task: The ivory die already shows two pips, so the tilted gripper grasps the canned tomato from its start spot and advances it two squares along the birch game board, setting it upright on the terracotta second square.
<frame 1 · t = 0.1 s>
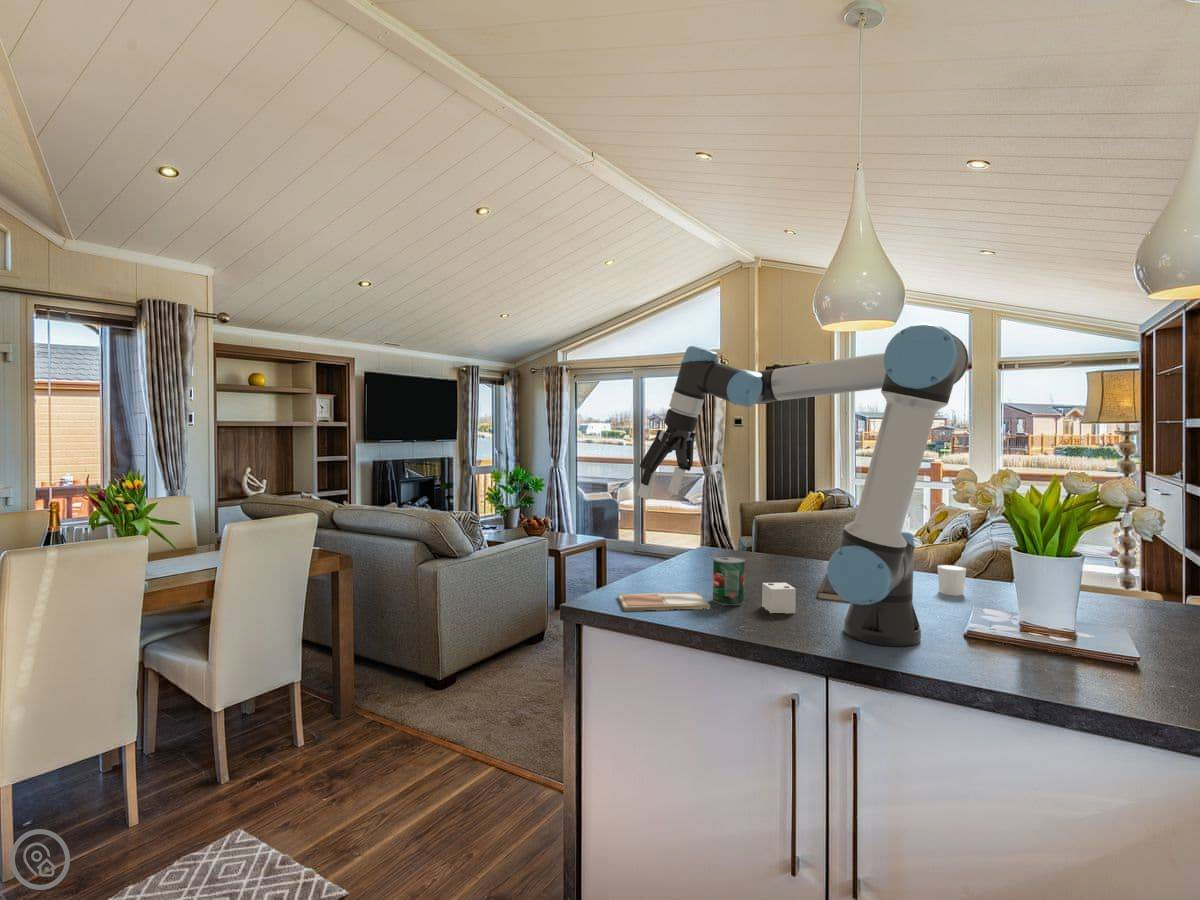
hand: (658, 495, 156), 28 cm above the countertop, tool tilted 20°, fingers open, 13 cm apart
hardcover book: (852, 593, 174), on the countertop
shot glass: (950, 593, 173), on the countertop
game board: (662, 603, 161), on the countertop
canned tomato: (728, 602, 163), on the countertop
die: (778, 610, 156), on the countertop
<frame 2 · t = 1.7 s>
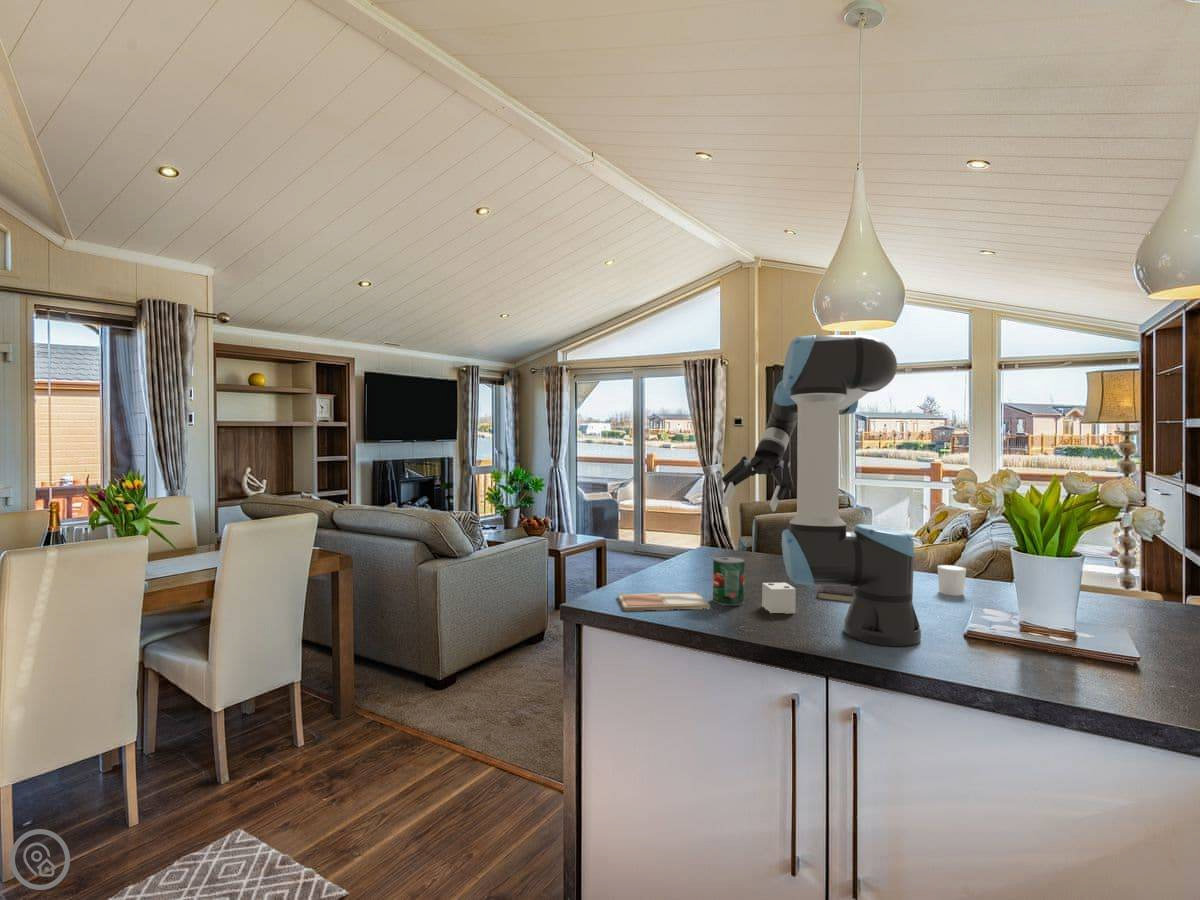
hand: (747, 505, 170), 23 cm above the countertop, tool tilted 45°, fingers open, 13 cm apart
nothing on the countertop moved.
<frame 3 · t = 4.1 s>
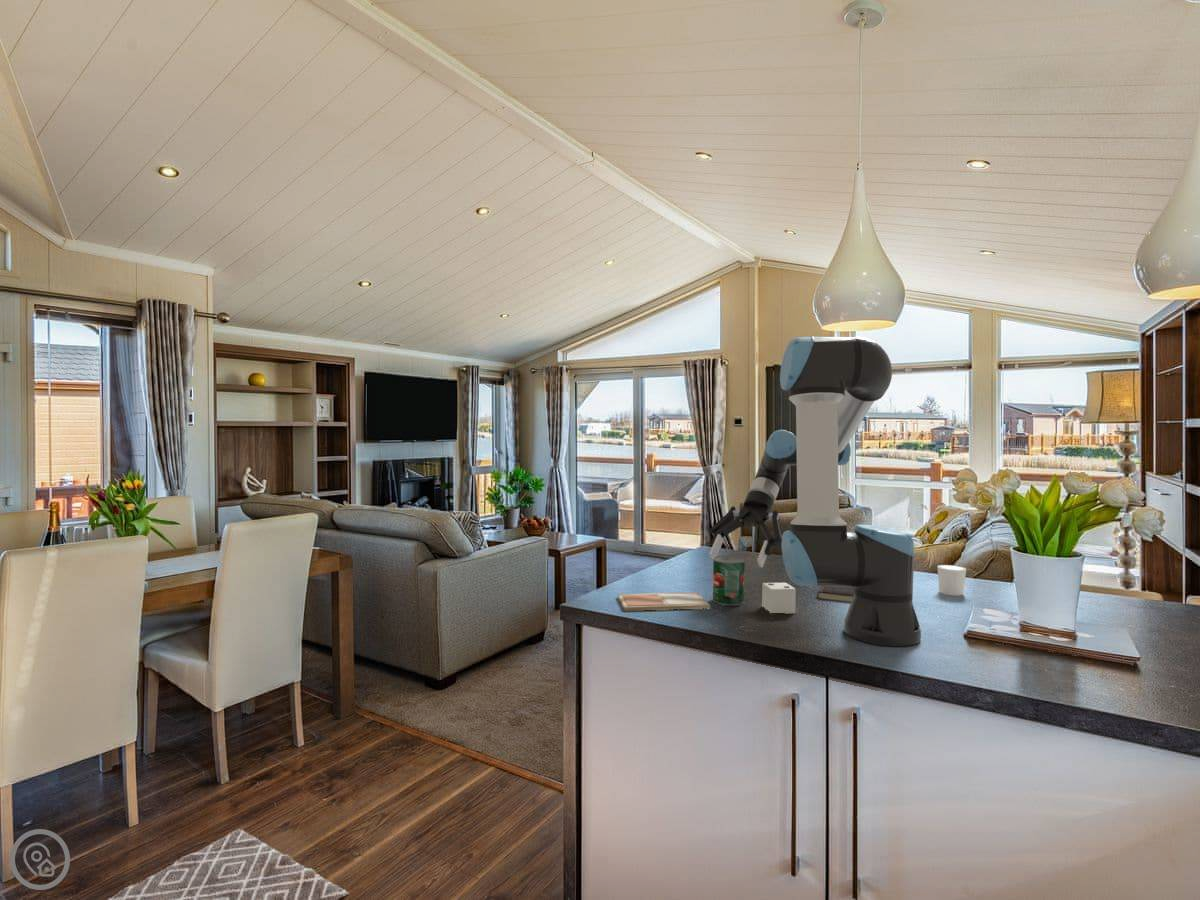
hand: (735, 560, 167), 10 cm above the countertop, tool tilted 45°, fingers open, 13 cm apart
nothing on the countertop moved.
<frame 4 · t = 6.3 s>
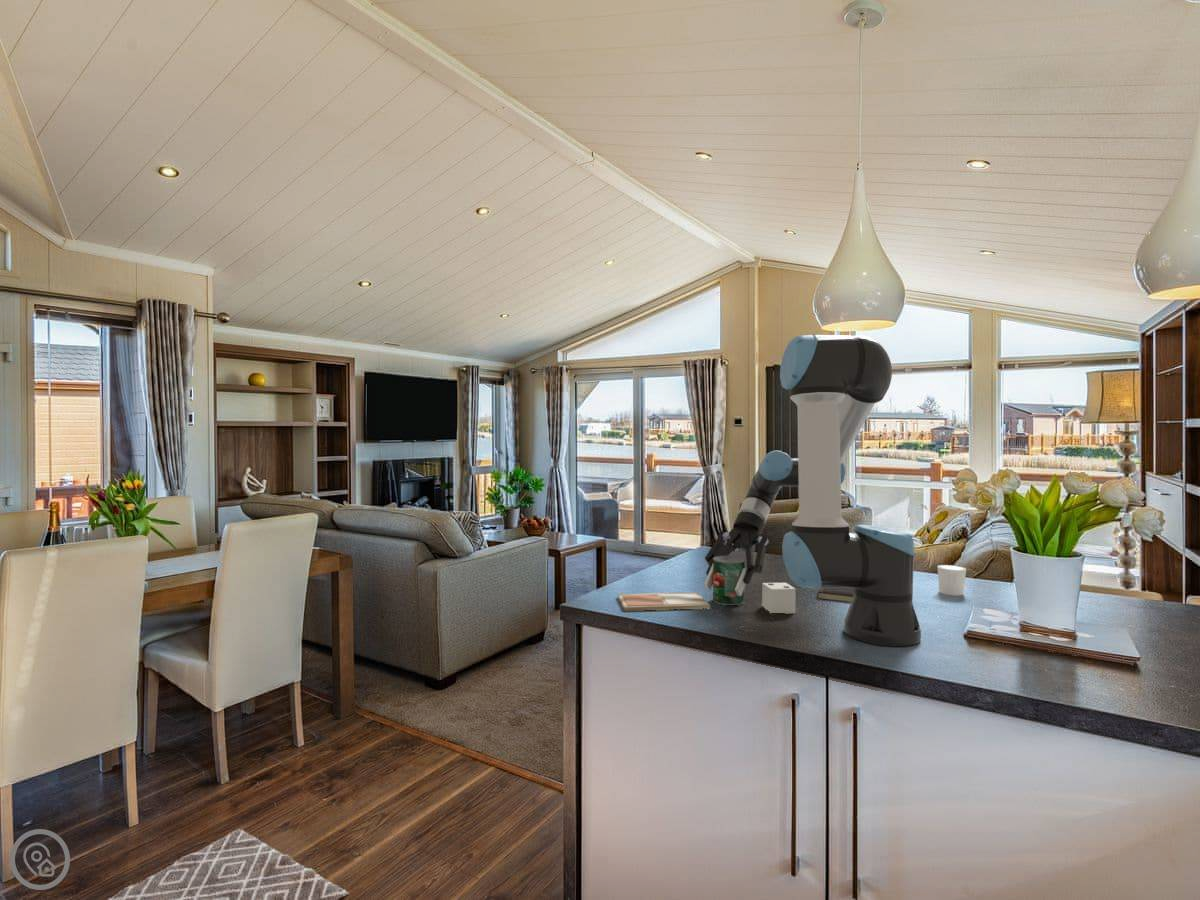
hand: (722, 590, 160), 4 cm above the countertop, tool tilted 45°, fingers closed on canned tomato, 8 cm apart
canned tomato: (728, 602, 163), on the countertop, touching gripper
everything else where it was.
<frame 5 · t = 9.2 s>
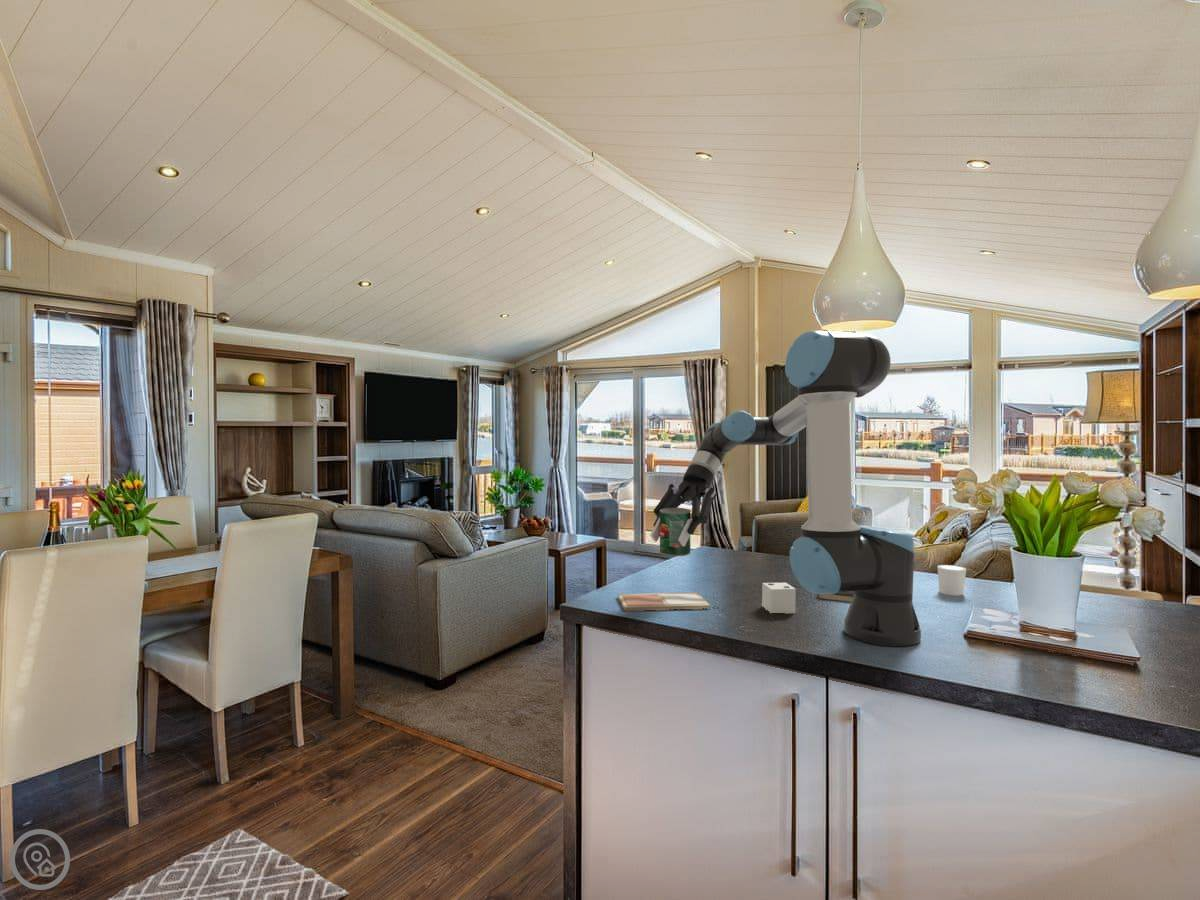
hand: (667, 540, 161), 16 cm above the countertop, tool tilted 45°, fingers closed on canned tomato, 8 cm apart
canned tomato: (675, 553, 164), point 12 cm above the countertop, touching gripper
everything else where it was.
when the fingers open (6 cm above the countertop, at t = 12.0 s): canned tomato drops 1 cm, resting on game board.
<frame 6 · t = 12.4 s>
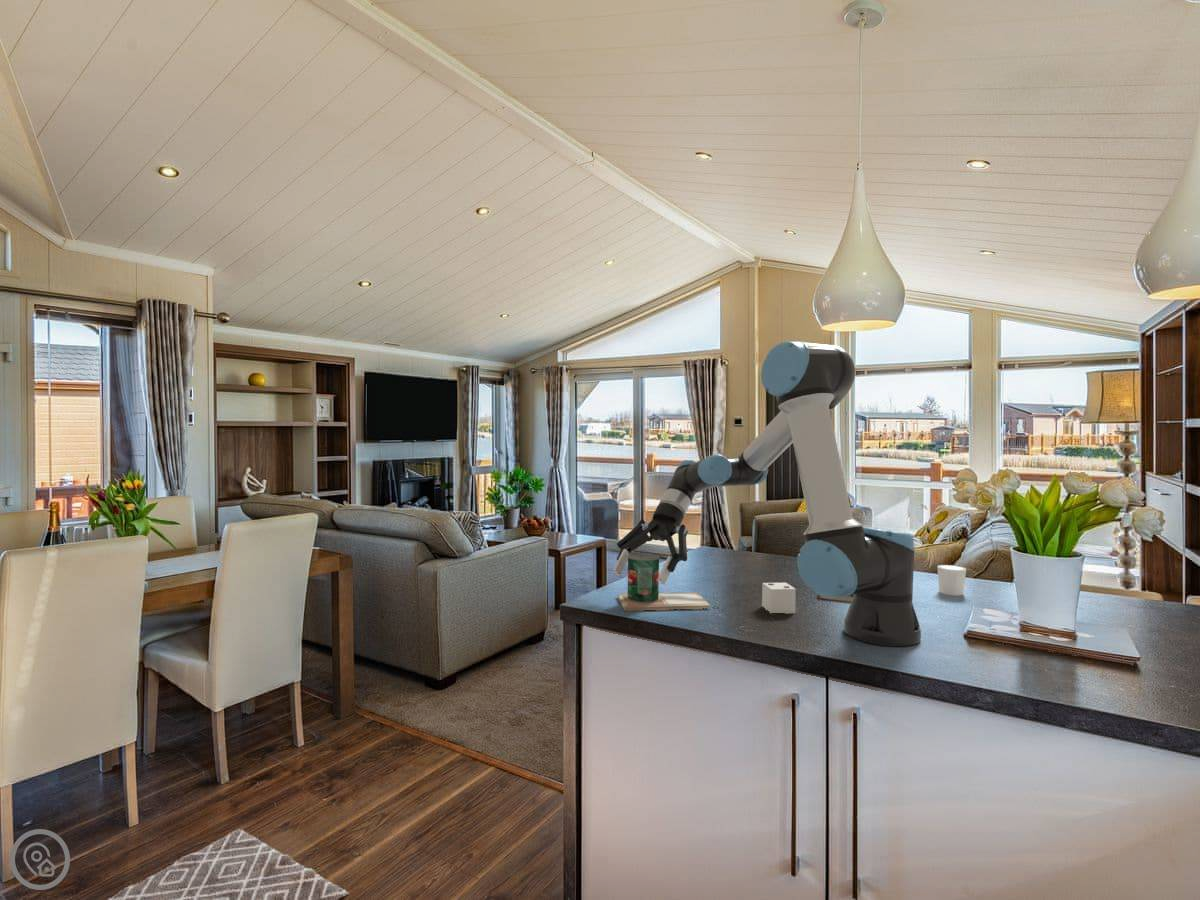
hand: (638, 577, 158), 7 cm above the countertop, tool tilted 45°, fingers open, 13 cm apart
canned tomato: (642, 600, 161), point 1 cm above the countertop, touching game board
everything else where it was.
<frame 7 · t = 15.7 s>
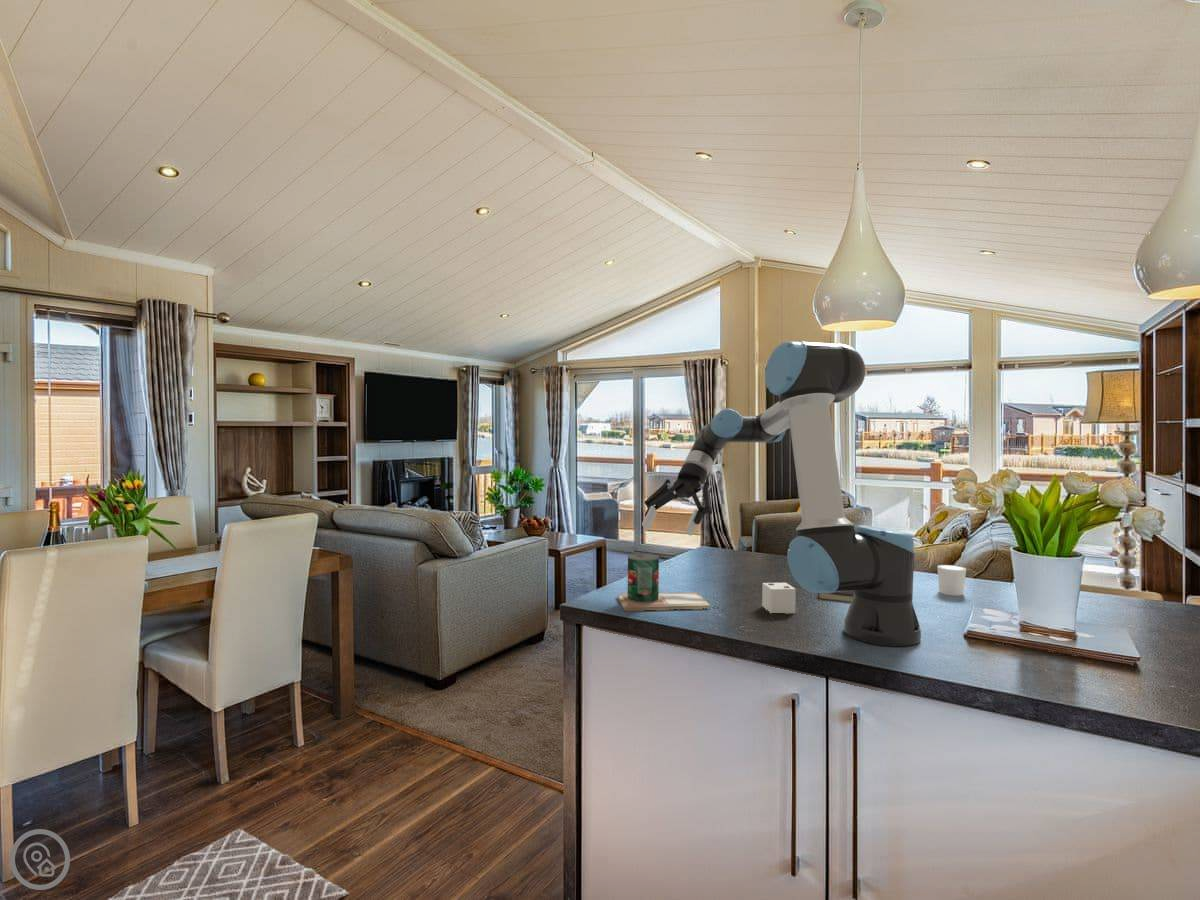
hand: (666, 529, 169), 17 cm above the countertop, tool tilted 45°, fingers open, 13 cm apart
nothing on the countertop moved.
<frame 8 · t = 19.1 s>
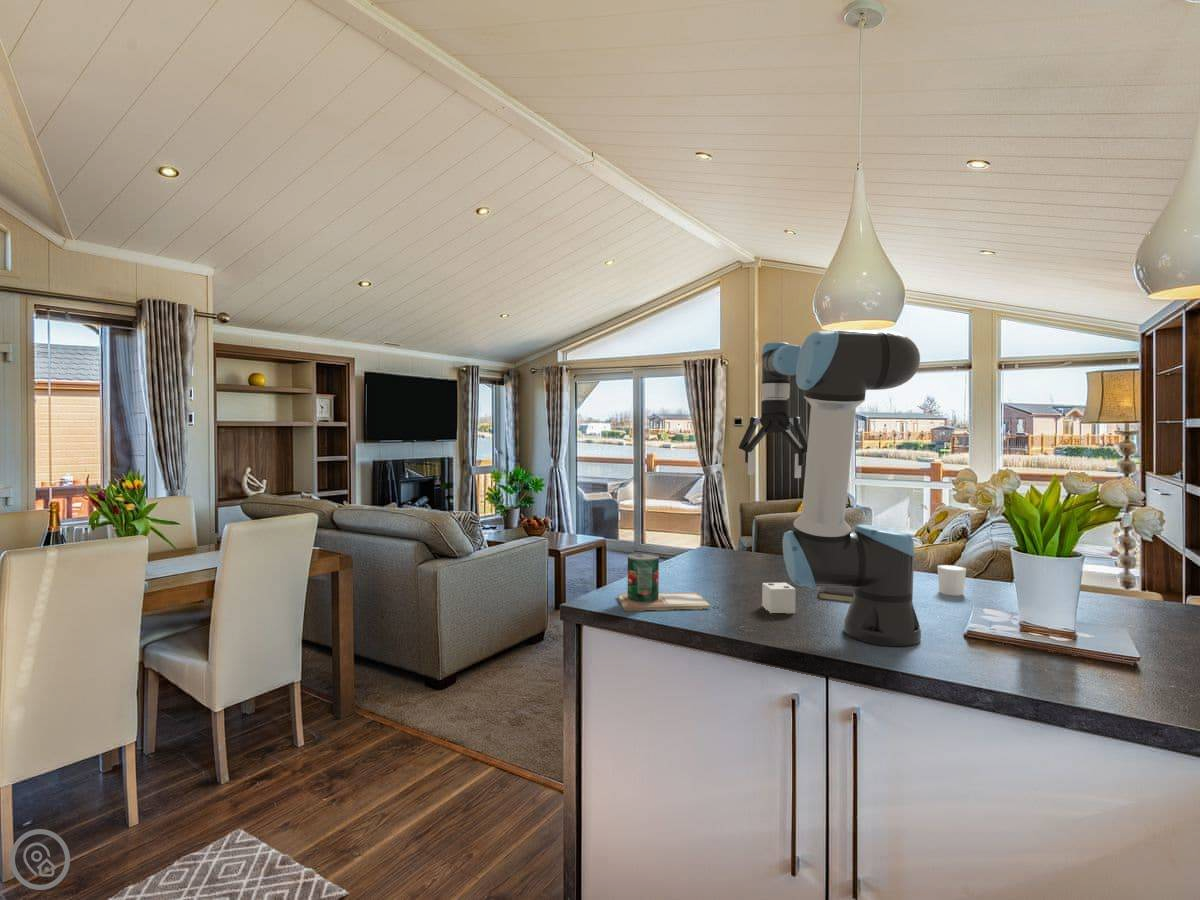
hand: (773, 476, 177), 31 cm above the countertop, tool pointing down, fingers open, 13 cm apart
nothing on the countertop moved.
at the end: canned tomato inside the target area on the game board (0.3 cm from its centre), point 0.8 cm above the game board's base; canned tomato tilted 0°; the gripper is holding nothing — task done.
